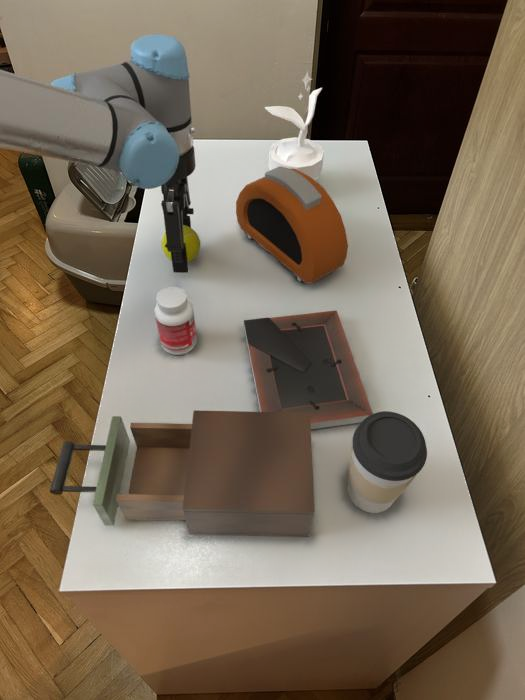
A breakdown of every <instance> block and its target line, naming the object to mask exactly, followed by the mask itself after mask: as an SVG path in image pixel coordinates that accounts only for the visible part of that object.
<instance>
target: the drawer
mask: <svg viewBox="0 0 525 700" xmlns="http://www.w3.org/2000/svg"><path fill="white" fill-rule="evenodd" d="M129 429H130V432H131V434H132V437H133V440H134V443H135V445H136V450H135V454H134V461H133V467H132V471H131V476H130V482H129V487H128V493H121V492H122V491H121V490H122V485H123V480H124V475H125V470H126V465H127V459H128V454H129V448H130V444H131V439H130V438H129V437H130V436H129V434H128V432H127V428H126V426H125V423H124V421H123V418H122V416H120V415H119V416H118V415H117V416H116V415H113V416H112V417H111V421H110V426H109V430H108V433H107V439H106V444H76V443H74V442H73V441H70V440H69V441H68V440H67V441H63V443H62V447H61V448H60V449H61V450H60V452H59V457H58V461H57V464H56V467H55V471H54V474H53V478H52V482H51V485H50V489H49V493H50V494H52V495H57V496H60V495H63V493H94V496H93V497H94V498H93V501H92V507H93V508H94V510H95V512H96V513H97V515H98V517H99V518H100V519H101V521H102V523H103V525H104V526H106V527H107V526H108V527H112V526H113V527H114V526H115V521H116V516H117V512H118V508H119V510H120V512H121V514H122V516H123V517H124V519H125V520H150V521H152V520H153V521H186V519H185V515H184V512H183V500H184V491H185V482H186V474H187V465H188V456H189V447H190V438H191V430H192V423H172V422H171V423H169V422H167V423H166V422H165V423H164V422H130V425H129ZM74 451H89V452H91V451H92V452H103V456H102V461H101V466H100V469H99V475H98V479H97V484H96V486H84V485H66V482H67V478H68V476H69V475H68V474H69V470H70V466H71V463H72V459H73V455H74Z"/></svg>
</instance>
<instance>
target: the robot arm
mask: <svg viewBox="0 0 525 700" xmlns="http://www.w3.org/2000/svg"><path fill="white" fill-rule="evenodd" d="M189 79H190V72H189V67H188V59H187V54H186V49H185V46H184V45H183V43H182V42H181V41H180V40H178V39H177V38H175V37H174V36H170V35H167V34H155V33H153V34H147V35H143V36H141V37H140V38H138V39H135V40H134V41H133V42H132V44H131V45H130V60H127V61H123V62H122V63H118V64H113V65H110V66H105V67H100V68H95V69H92V70H87V71H83V72H78V73H76V72H73V73H72V74H70V75H66V76H64V77H60V78H57V79H54V80H53V81H52V82H50V83H47V82H43V81H40V80H37V79H33V78H30V77H26V76H23V75H19V74H16V73H13V72H10V71H7V70H3V69H0V149H4V150H5V149H6V150H10V151H15V152H19V153H26V154H30V155H36V156H41V157H46V158H51V159H56V160H60V161H61V160H62V161H66V162H72V163H77V164H81V165H88V166H91V167H96V168H97V167H98V168H100V169H101V168H102V169H105V170H108V171H109V170H110V171H116V172H119V173H121V176H122V177H123V178H124V179H125V180H127V181H129V182H130V183H131V184H133V185H134V186H136V187H138V188H139V189H143V190H152V189H156V188H158V187H161V188H160V190H161V194H162V197H163V199H162V200H161V203H160V205H161V209H162V213H163V221H164V230H165V232H166V240H167V243H166V244H165V248H167V250H168V252H171V258H172V261H171V263H172V270H173V271H172V272H173V273H175V274H176V273H178V274H188V273H189V262H187V253H186V244H185V243H184V234H183V225H186V226H189V227H190V228H192V224H191V222H192V221H191V215H194V212H195V211H194V207H193V208H192V207H190V206H191V204H192V203H191V202H192V201H191V196H190V189H189V182H188V179H189V178H188V177H189V176H190V175H192V174H193V173H194V171H195V170H196V153H195V152H196V151H195V147H194V134H196V133H197V128H196V126H192V124H193V122H192V109H191V107H192V106H191V95H190V80H189Z"/></svg>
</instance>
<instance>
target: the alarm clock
mask: <svg viewBox="0 0 525 700" xmlns="http://www.w3.org/2000/svg"><path fill="white" fill-rule="evenodd" d="M235 214H236V220H237V224H238V225H239V227H240V229H241V230H242V231H243V232H245V234H247V239H249V240H252V239H253V240H254V241H255V242H256V243H258V245H260V246H261V247H262V248H263V249H265V250H266V251H267V252H268V253H269V254H270V255H272V256H273V257H274V258H275V259H277V260H278V261H279V262H280V263H281V264H283V266H284V267H286V268H287V269H288V270H289V271H291V272H292V273H293V274H295V276H296V279H297V281H299V282H302V281H303V282H304V283H305V284H312V283H315V282H316V281H318V280H320V279H321V278H323V277H325V276H327V275H328V274H330V273H332V272H334V271H336V270H337V269H339V268H341V267H342V266H344V264H345V262H346V259H347V257H348V251H349V243H348V237H347V231H346V227H345V224H344V220H343V217H342V215H341V213H340V211H339V209H338V207H337V205H336V203H335V201H334V200H333V199H332V197H331V196H330V195H329V193H328V191H327V189H325V188H324V187H323V186H322V185H320V184H319V183H318V182H317V181H316V180H313V179H312V178H311V177H309V176H308V175H306V174H304V173H302V172H300V171H298V170H296V169H288V168H285V167H281V166H279V167H277V168H275V169H273V170H270V171H269V170H268V171H266V172H264V176H263V177H261V178H258V179H257V180H254V181H251V182H250V183H247V184H245V186H244V187H243V189H241V190H240V192H239V194H238V196H237V199H236V202H235Z"/></svg>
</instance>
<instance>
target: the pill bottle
mask: <svg viewBox="0 0 525 700" xmlns="http://www.w3.org/2000/svg"><path fill="white" fill-rule="evenodd" d="M155 298H156V305H155V307H154V317H155V318H154V319H155V322H156V327H157V332H158V336H159V341H160V345H161V348H162V349H163V350H164V351H165V352H166V353H168V354H171V355H177V356H179V355H185V354H187V353H189V352H191V351H192V350H193V349H194V348H195V347H196V345H197V342H198V339H197V338H198V337H197V328H196V320H195V313H194V312H195V311H194V307H193V304H192V302H191V301H190V300H189V298H188V295H187V293H186V291H185V290H184V289H183V288H181V287H179V286H167V287H164V288H162V289H161V290H159V291H158V293H157V294H156V297H155Z"/></svg>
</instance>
